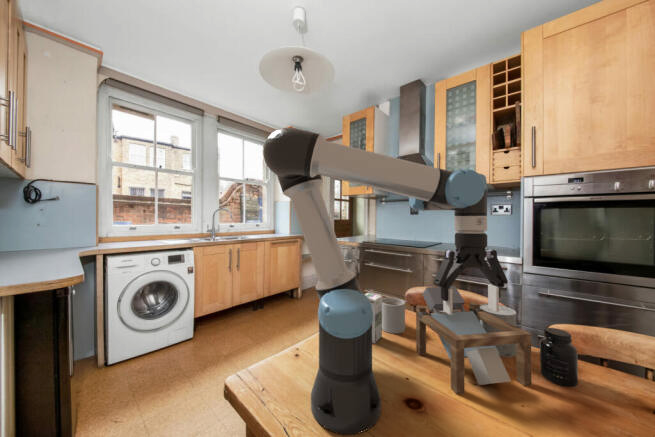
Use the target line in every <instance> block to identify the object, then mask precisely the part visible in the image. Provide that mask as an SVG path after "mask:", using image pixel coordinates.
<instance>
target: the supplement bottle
mask: <svg viewBox="0 0 655 437" xmlns="http://www.w3.org/2000/svg"><path fill="white" fill-rule="evenodd" d="M572 343H573V340H572V334H571V333H570V332H568V331H566V330H563V329H560V328H555V327H546V328H545V329H544V337H542V338H541V339H540V340H539V358H540V359H539V361H540V364H539V366H540V374H541V375H542V377H543V378H545V380H548V382H550V383H552V384H554V385H557V386H560V387H564V388H571V389H572V388H576V387H578V384H579V369H578V368H579V367H578V364H579V362H578V359H579V358H578V350H577V348H576V347H575V346H574V345H573V344H572Z"/></svg>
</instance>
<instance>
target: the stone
mask: <svg viewBox="0 0 655 437" xmlns="http://www.w3.org/2000/svg"><path fill="white" fill-rule="evenodd" d="M466 354H467V357H468V358H467V359H468V361H469V363H470V367H471V370H472V372H473V374H474V377H475V380H476V383H477V385H478V386H479V385H481V386H482V385H489V384H498V383H510V382H512V380H511V377H510V375H509V373H508V370H507V369H506V367H505V364H504V363H503V361H502V358H501V356H499V354H498V352H497V350H496V348H495V347H493V348H482V349H476V350H472V351H469V352H466Z"/></svg>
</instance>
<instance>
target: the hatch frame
mask: <svg viewBox="0 0 655 437" xmlns="http://www.w3.org/2000/svg"><path fill="white" fill-rule="evenodd" d="M480 305H481V303H477V302H472V301H471V302H469V303H468V308H469V309H468V311H473V312H474V314H475V315H476V317H477V318H478V320H479V322H480V320H482V321H484V322H486V323H488V324H489V325H491V326H493V327H495V328H497V329H499V330H501V331H503V332H494V333H482V334H469V335H457V334H455V333H454V332H453V331H451V330H450V329H448V328H447V327H445V326H444V325H443V324H441V323H440V322H438V321H437V320H435V319H434V318H433V317H431V316H430V315H429V312H427V307H425V306H424V305H416V306H415V316H416V320H415V323H416V324H415V328H416V329H415V333H416V334H415V336H416V337H415V339H416V340H415V341H416V343H415V344H416V345H415V348H416V349H415V351H416V353H417V354H418V355H419V356H426V355H427V327H428V328H429V329H430V330H432V331H433V332H435V334H437V335H438V337H439V336H441V337H442V338H443V339H444V340H446V341H447V342H448V343H450V344H451V359H450V389H451V391H452V392H454V393H455V395H463V394H465V358H464V348H472V347H483V346H494V345H505V344H516V356H515V357H516V360H515V361H516V381H517V383H519V384H520V385H521V386H523V387H530V386H532V383H533V382H532V381H533V380H532V334H531V333H530V332H528V331H526V330H524V329H522V328H519V327H518V326H517V325H516V326H513V325H511V324H509V323H507V322H505V321H503V320H501V319H499V318H497V317H495V316H492V315H490V314H488V313H486V312H484V311H483V309H481V308H480Z"/></svg>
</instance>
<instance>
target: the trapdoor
mask: <svg viewBox="0 0 655 437" xmlns="http://www.w3.org/2000/svg"><path fill="white" fill-rule="evenodd" d="M450 289H452V304H453V315H449V314H448V313H446V312H444V311H443V300H442V299H441V287H439V286H428V287H425V289H424V291H423V293H422V297H423V298H424V302H425V303H426V305H427V307H428V310H429V311H430V312H433V313H428V315H430V316H431V317H433V318H434V319H435V320H437V321H438V322H440V323H441V324H443V325H444V326H445V327H447V328H448V329H450V330H451V331H453V332H454V333H455V334H457V335H469V334H482V333H486V331H485V329H484V328H483V326H482V325H481V323H480V322H479V320H478V318H477V317H476V315H475V314H474V312H473V311H469V310H466V309H465V307H464V305H465V303H466V301H465V300H464V298H463V297H462V295H461V293H460V292H459V290H458V288H457V287H456V285H451V286H450ZM455 310H456V311H455ZM457 310H460V311H457ZM439 311H440V312H439ZM442 311H443V312H442ZM438 337H439V339H440V341H441V343H442V346H443V348H444V350H445V351H446V354H447V357H448V358H449V360H451V344H450V343H448V342H447V341H446V340H444V339H443V338H442V337H441V336H439V335H438ZM493 347H495V345H494V346H483V347H472V348H464V359H466V358H467V359H468V357H467V354H466V352H469V351H472V350H476V349H482V348H493ZM495 348H496V347H495ZM496 350H497V348H496ZM497 352H498V354H499V351H498V350H497Z"/></svg>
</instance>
